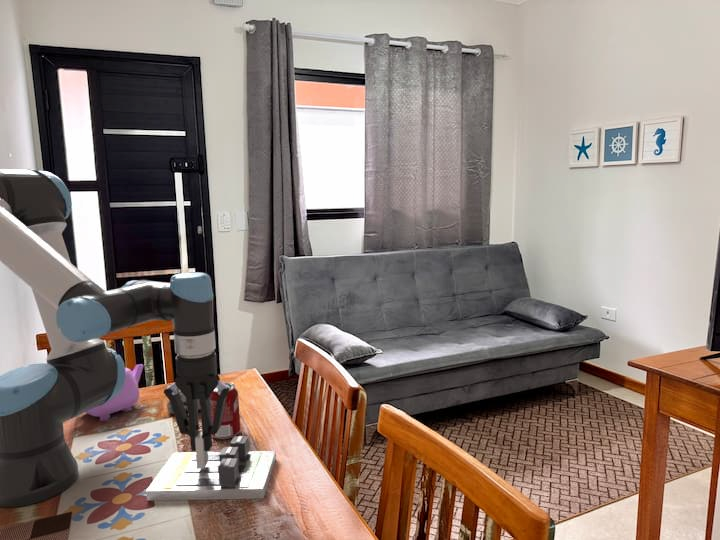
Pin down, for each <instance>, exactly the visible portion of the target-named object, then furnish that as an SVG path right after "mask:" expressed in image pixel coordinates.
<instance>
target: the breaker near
mask: <svg viewBox="0 0 720 540" xmlns="http://www.w3.org/2000/svg"><path fill="white" fill-rule="evenodd" d="M218 474H219V484H235V483H236V480H237V478H238V476H239V471H238V458H227V459H222V460H221V462H220V464H219V466H218Z"/></svg>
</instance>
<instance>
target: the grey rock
mask: <svg viewBox="0 0 720 540" xmlns="http://www.w3.org/2000/svg"><path fill="white" fill-rule="evenodd" d="M179 394H180V396H181V399H182V403H183V406H184V409H185V412H188V408H187V404H186V397H185V396H184V394H183V393H182V392H181V391H180V390H179ZM197 403H198V411H201V406H200V403H199V399H197ZM166 406H167V407H166V408H167V412H168V413H170V414H174V412H173V409H172V406H171V403H170V400H169V401H168V402H167V403H166Z"/></svg>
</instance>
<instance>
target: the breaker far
mask: <svg viewBox="0 0 720 540" xmlns="http://www.w3.org/2000/svg"><path fill="white" fill-rule="evenodd" d="M231 439H232V440H231V441H230V443H229V444H230V445H229V447H238V451H239V459H246V457H247V455H248V453H249V451H250V447H249V436H247V435H239V436H237V435H236V436H234V437H232V438H231Z"/></svg>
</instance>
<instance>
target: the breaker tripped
mask: <svg viewBox="0 0 720 540" xmlns="http://www.w3.org/2000/svg"><path fill="white" fill-rule="evenodd" d="M220 452H221V453H220V455H219V456H220V462H221V460H222V459H227V458H238V465H239V451H238V447H230V446H224V447H223V448H222V449H221V451H220Z"/></svg>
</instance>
